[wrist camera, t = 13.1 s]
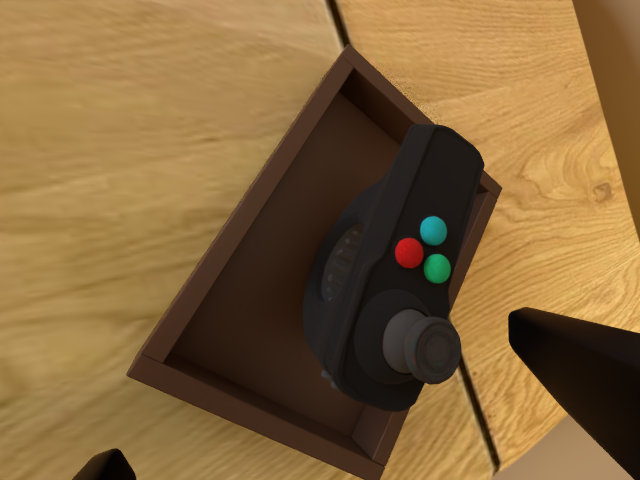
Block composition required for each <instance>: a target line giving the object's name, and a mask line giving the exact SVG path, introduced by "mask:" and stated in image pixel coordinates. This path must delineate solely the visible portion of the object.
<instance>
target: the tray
mask: <svg viewBox="0 0 640 480" xmlns="http://www.w3.org/2000/svg"><path fill="white" fill-rule="evenodd" d="M414 124H434V123H433V122H432V121H431V120H430V119H429V118H428V117H426V116H425V115H424V114H423V113H422V112H421V111H420V110H419V109H418V108H417V107H416V106H415V105H414V104H413V103H412V102H410V101H409V100H408V99H407V98H406V97H405V96H404V95H403V94H402V93H401V92H400V91H399V90H398V89H397V88H396V87H394V86H393V85H392V84H391V83H390V82H389V81H388V80H387V79H386V78H385V77H384V76H383V75H382V74H381V73H380V72H379V71H377V70H376V69H375V68H374V67H373V66H372V65H371V64H370V63H369V62H368V61H367V60H366V59H365V58H364V57H363V56H361V55H360V54H359V53H358V52H357V51H356V50H355V49H354V48H353V47H352V46H351V45H350V44H348V45H347V46H346V47H345V49H344V50H343V51H342V53H341V54H340V56H339V57H338V58H337V60H336V61H335V62H334V64H333V65H332V66H331V68H330V69H329V70H328V72H327V73H326V75H325V76H324V78H323V79H322V81H321V82H320V83H319V85H318V86H317V88H316V89H315V91H314V92H313V94H312V95H311V97H310V98H309V100H308V101H307V103H306V104H305V106H304V107H303V109H302V110H301V112H300V113H299V115H298V116H297V118H296V119H295V121H294V122H293V124H292V125H291V127H290V128H289V130H288V131H287V132H286V134H285V135H284V137H283V138H282V140H281V141H280V143H279V144H278V146H277V147H276V149H275V150H274V152H273V153H272V155H271V156H270V158H269V159H268V161H267V162H266V164H265V165H264V167H263V168H262V170H261V171H260V173H259V174H258V176H257V177H256V179H255V180H254V181H253V183H252V184H251V186H250V187H249V189H248V190H247V192H246V193H245V195H244V196H243V198H242V199H241V201H240V202H239V204H238V205H237V207H236V208H235V210H234V211H233V213H232V214H231V216H230V217H229V219H228V220H227V222H226V223H225V225H224V226H223V227H222V229H221V230H220V232H219V233H218V235H217V236H216V238H215V239H214V241H213V242H212V244H211V245H210V247H209V248H208V250H207V251H206V253H205V254H204V256H203V257H202V259H201V260H200V262H199V263H198V265H197V266H196V268H195V269H194V271H193V272H192V274H191V275H190V276H189V278H188V279H187V281H186V282H185V284H184V285H183V287H182V288H181V290H180V291H179V293H178V294H177V296H176V297H175V299H174V300H173V302H172V303H171V305H170V306H169V308H168V309H167V311H166V312H165V314H164V315H163V317H162V318H161V320H160V321H159V323H158V324H157V325H156V327H155V328H154V330H153V331H152V333H151V334H150V336H149V337H148V339H147V340H146V342H145V343H144V345H143V346H142V348H141V349H140V351H139V352H138V354H137V355H136V357H135V359H134V361H133V363H132V365H131V367H130V368H129V370H128V372H127V376H128V377H130V378H132V379H135V380H137V381H139V382H142V383H144V384H146V385H148V386H151V387H153V388H155V389H158V390H160V391H162V392H164V393H167V394H169V395H171V396H174V397H176V398H178V399H181V400H183V401H185V402H187V403H190V404H192V405H194V406H197V407H199V408H201V409H203V410H206V411H208V412H210V413H213V414H215V415H217V416H220V417H222V418H224V419H226V420H229V421H231V422H233V423H236V424H238V425H240V426H242V427H245V428H247V429H249V430H252V431H254V432H256V433H259V434H261V435H263V436H265V437H268V438H270V439H272V440H275V441H277V442H279V443H282V444H284V445H286V446H288V447H291V448H293V449H295V450H298V451H300V452H302V453H304V454H307V455H309V456H311V457H314V458H316V459H318V460H321V461H323V462H325V463H327V464H330V465H332V466H334V467H337V468H339V469H341V470H343V471H346V472H348V473H350V474H353V475H355V476H357V477H360V478H362V479H364V480H380V478H381V476H382V474H383V471H384V469H385V467H384V466H386V464H387V462H388V459H389V457H390V455H391V452H392V450H393V448H394V445H395V443H396V440H397V438H398V436H399V433H400V431H401V428H402V426H403V424H404V421H405V419H406V417H407V414H408V412H409V409H410V408H409V409H407V410H404V411H400V412H393V411H384V410H381V409H378V408H375V407H372V406H370V405H367V404H364V403H361V402H358V401H355V400H353V399H352V398H350V397H348V396H347V395H345V394H344V393H342V392H341V391H338V390H336V389H334V388H332V387H331V381H329V380H326V379H324V378H323V377H322V376H321V374H322V371H323V368H322V366H321V365H320V363H319V362H318V360H317V359H316V357H315V355H314V354H313V352H312V351H311V349H310V347H309V346H308V343H307V340H306V337H305V334H304V331H303V299H304V292H305V287H306V283H307V279H308V276H309V273H310V270H311V267H312V265H313V262H314V260H315V257H316V255H317V253H318V251H319V249H320V247H321V245H322V243H323V241H324V239H325V238H326V236H327V234H328V233H329V231H330V229H331V228H332V226H333V225H334V223H335V222H336V220H337V219H338V218H339V216H340V215H341V214H342V213H343V211H344V210H345V209H346V208H347V207H348V205H349V204H350V203H351V202H352V201H353V200H354V199H355V198H356V197H357V196H358V195H359V194H360V193H361V192H362V191H364V190H365V189H366V188H368V187H370V186H371V185H373V184H375V183H376V182H378V181H379V180H380V179H381V178H383V177H384V176H385V174H386V173H387V171H388V170H389V169H390V167H391V165H392V163H393V161H394V159H395V157H396V155H397V153H398V151H399V149H400V147H401V145H402V143H403V141H404V138H405V136H406V134H407V131H408V129H409V128H410V127H411V126H412V125H414ZM501 190H502V187H501V186H500V185H499V184H498V183H497V182H496V181H495V180H494V179H492V178H491V177H490V176H489V175H488V174H487V173H486V172H485V171H484V170H483V172H482V176H481V179H480V183H479V186H478V190H477V193H476V197H475V200H474V204H473V207H472V211H471V214H470V217H469V221H468V224H467V228H466V231H465V235H464V238H463V242H462V245H461V248H460V252H459V255H458V259H457V262H456V266H455V269H454V273H453V276H452V279H451V283H450V286H449V290H448V291H449V302H450V312H451V309H452V307H453V304H454V302H455V300H456V297H457V295H458V293H459V290H460V288H461V285H462V283H463V281H464V278H465V276H466V273H467V271H468V269H469V266H470V264H471V262H472V259H473V257H474V254H475V252H476V250H477V247H478V245H479V242H480V240H481V238H482V235H483V233H484V231H485V228H486V226H487V223H488V221H489V219H490V216H491V214H492V211H493V209H494V207H495V204H496V202H497V199H498V197H499V195H500V192H501ZM450 312H449V314H450ZM448 316H449V315H448ZM447 319H448V317H447Z"/></svg>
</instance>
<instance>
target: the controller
mask: <svg viewBox="0 0 640 480" xmlns="http://www.w3.org/2000/svg"><path fill="white" fill-rule="evenodd" d="M483 169H484V162H483V159H482V157H481V154H480V153H479V151H478V150H477V149H476V148H475V147H474V146H473V145H472V144H471V143H470V142H468V141H467V140H466V139H464V138H463V137H462V136H460V135H459V134H458V133H457V132H455V131H454V130H453V129H451V128H449V127H446V126H443V125H435V124H414V125H412V126H411V127H410V128H409V129H408V131H407V134H406V136H405V138H404V141H403V143H402V145H401V147H400V149H399V151H398V153H397V155H396V157H395V159H394V161H393V163H392V165H391V167H390V169H389V170H388V171H387V173H386V174H385V176H384V177H383V178H381V179H380V180H379V181H378V182H376V183H375V184H373V185H371V186H370V187H368V188H366V189H365V190H364V191H362V192H361V193H360V194H359V195H358V196H357V197H356V198H355V199H354V200H353V201H352V202H351V203H350V204H349V205H348V207H347V208H346V209H345V210H344V211H343V213H342V214H341V215H340V216H339V218H338V219H337V220H336V222H335V223H334V225H333V226H332V228H331V229H330V231H329V233H328V234H327V236H326V238H325V239H324V241H323V243H322V245H321V247H320V249H319V251H318V253H317V255H316V257H315V260H314V262H313V265H312V267H311V270H310V273H309V276H308V279H307V283H306V287H305V292H304V299H303V331H304V334H305V337H306V340H307V343H308V346H309V347H310V349H311V351H312V352H313V354H314V355H315V357H316V359H317V360H318V362H319V363H320V365H321V366H322V368H323V371H322V374H321V376H322V377H323V378H324V379H326V380H329V381H331V387H332V388H334V389H336V390H338V391H341V392H342V393H344V394H345V395H347V396H348V397H350V398H352V399H353V400H355V401H358V402H361V403H364V404H367V405H370V406H372V407H375V408H378V409H381V410H384V411H393V412H400V411H404V410H407V409H409V408H410V407H411V406H412V405H414V404H415V402H416V400H417V398H418V396H419V394H420V392H421V390H422V388H423V386H424V383H427V384H440V383H442V382H444V381H446V380H447V379H449V378H450V377H451V376H452V375H453V373H454V372H455V370H456V369H457V367H458V364H459V361H460V358H461V342H460V338H459V335H458V333H457V331H456V330H455V328H454V326H453V325H452V324H451V323H450V322H448V321H447V317H448V315H449V312H450V302H449V291H448V290H449V286H450V283H451V279H452V276H453V273H454V269H455V266H456V262H457V259H458V255H459V252H460V248H461V245H462V242H463V238H464V235H465V231H466V228H467V224H468V221H469V217H470V214H471V211H472V207H473V204H474V200H475V197H476V193H477V190H478V186H479V183H480V179H481V176H482V172H483Z"/></svg>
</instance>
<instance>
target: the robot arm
mask: <svg viewBox="0 0 640 480" xmlns="http://www.w3.org/2000/svg"><path fill="white" fill-rule="evenodd" d="M508 329H509V343H510V345H511V347H512V349H513V350H514V352H515V353H516V354H517V355H518V356H519V358H520V359H521V360H522V361H523V362H524V363H525V365H526V366H527V367H528V368H529V369H530V370H531V372H532V373H533V374H534V375H535V376H536V378H537V379H538V380H539V381H540V382H541V383H542V385H543V386H544V387H545V388H546V389H547V391H548V392H549V393H550V394H551V395H552V396H553V398H554V399H555V400H556V401H557V402H558V403H559V404H560V405H561V407H562V408H563V409H564V410H565V411H566V412H567V413H568V414H569V415H570V416H571V417H572V418H573V419H574V420H575V421H576V422H577V423H578V424H579V425H580V426H581V427H582V428H583V429H584V430H585V431H586V432H587V433H588V434H589V435H590V436H591V437H592V438H593V439H594V440H596V442H597V443H598V444H599V445H600V446H601V447H602V448H603V449H604V450H605V451H606V452H607V453H609V455H610V456H611V457H612V458H613V459H614V460H615V461H616V462H617V463H618V464H619V465H620V466H621V467H622V468H623V469H624V470H625V471H626V472H627V473H628V474H629V475H631V477H632V478H633V479H634V480H640V333H636V332H632V331H627V330H623V329H619V328H614V327H610V326H606V325H602V324H597V323H593V322H589V321H585V320H580V319H576V318H572V317H568V316H563V315H559V314H555V313H551V312H546V311H542V310H538V309H534V308H529V307H524V308H521V309H518V310H515V311H512V312H511V313H510V314H509V316H508ZM72 480H136V476H135V473H134V471H133V469H132V468H131V466H130V465H129V463H128V461H127V460H126V458H125V457H124V455H123V453H122V452H121V451H120V450H119V449H111V450H108V451H105V452H102V453H99V454H97V455H95V456H94V457H92V458H91V459H90V460H89V461H88V463H87V464H86V465H85V466H84V467H83V468H82V469H81V470H80V471H79V472H78V473H77V475H76V476H75V477H74V478H73V479H72Z"/></svg>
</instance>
